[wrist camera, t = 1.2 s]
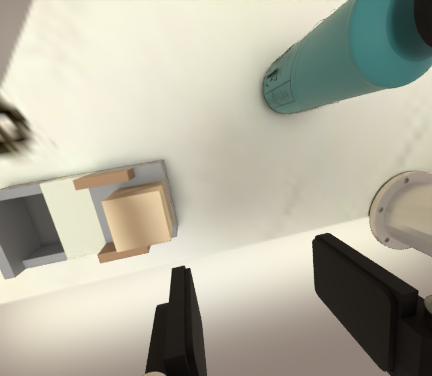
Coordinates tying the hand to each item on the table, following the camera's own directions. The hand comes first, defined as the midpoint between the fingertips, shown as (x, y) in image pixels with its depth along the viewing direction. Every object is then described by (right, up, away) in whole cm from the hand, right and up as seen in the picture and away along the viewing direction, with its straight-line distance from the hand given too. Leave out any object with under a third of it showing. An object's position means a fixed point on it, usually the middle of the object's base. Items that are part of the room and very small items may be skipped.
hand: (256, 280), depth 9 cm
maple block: (-10, +2, +15) cm, 18 cm away
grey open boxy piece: (-17, +2, +17) cm, 24 cm away
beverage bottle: (+6, +17, +18) cm, 25 cm away
